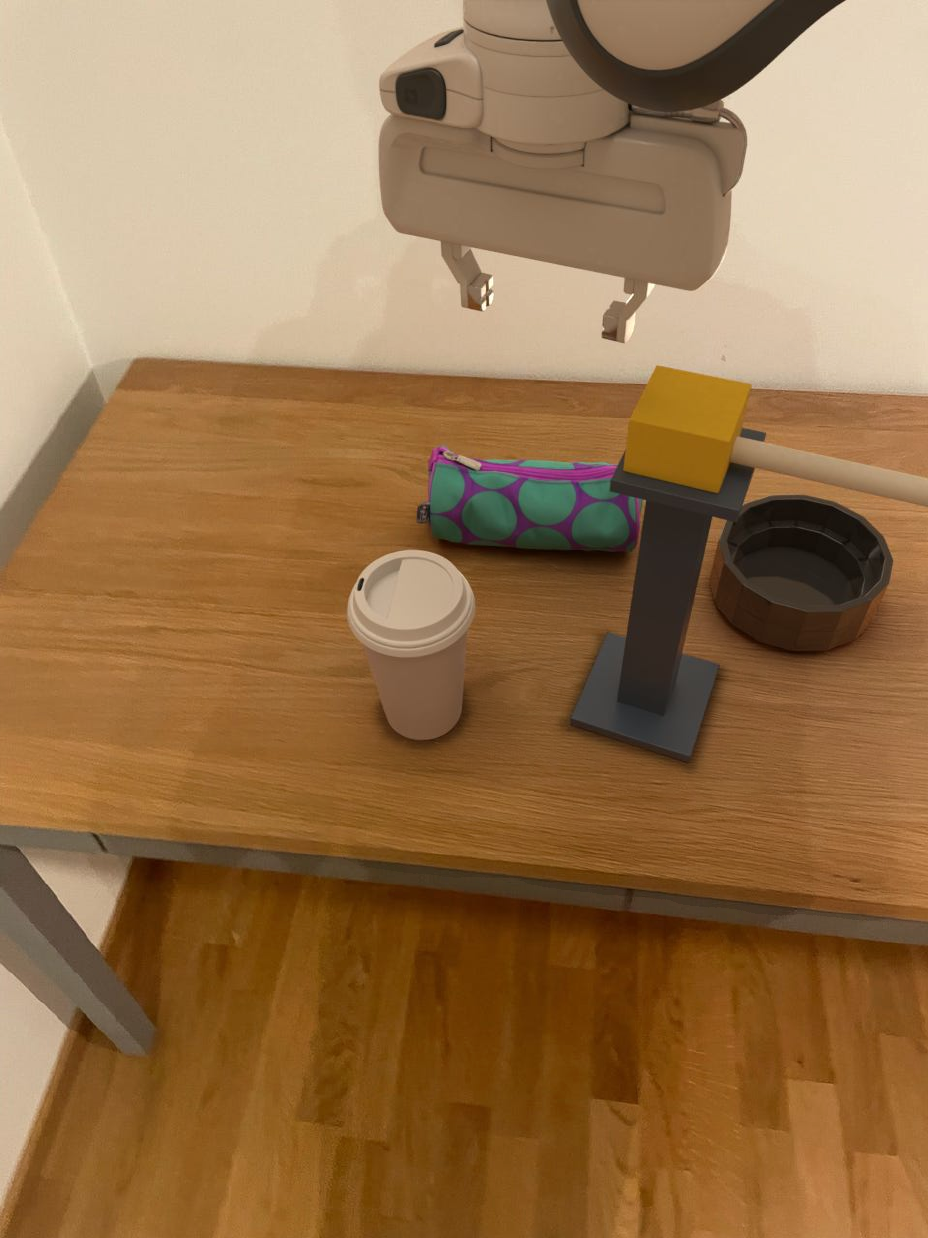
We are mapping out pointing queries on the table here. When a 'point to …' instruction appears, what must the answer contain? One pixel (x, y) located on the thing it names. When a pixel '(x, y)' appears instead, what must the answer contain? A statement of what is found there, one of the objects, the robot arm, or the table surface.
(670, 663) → the stand
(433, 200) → the robot arm
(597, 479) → the pencil case
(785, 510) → the bowl
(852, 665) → the table surface
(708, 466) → the sponge wand
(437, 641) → the coffee cup
